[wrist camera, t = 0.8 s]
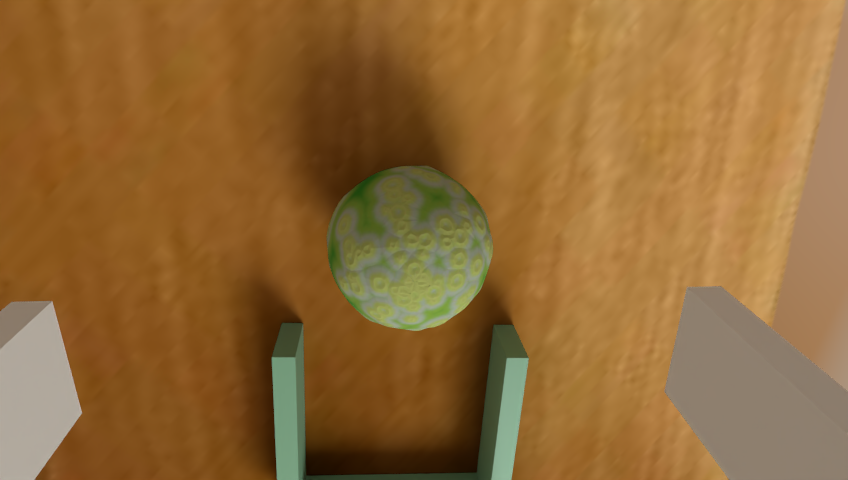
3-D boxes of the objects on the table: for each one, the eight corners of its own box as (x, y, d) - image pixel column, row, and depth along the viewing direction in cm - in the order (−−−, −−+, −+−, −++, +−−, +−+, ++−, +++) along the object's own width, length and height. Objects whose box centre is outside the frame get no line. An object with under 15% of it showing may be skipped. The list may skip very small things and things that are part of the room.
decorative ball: (378, 120, 37) (381, 155, 27) (504, 197, 39) (545, 252, 30) (305, 244, 39) (284, 314, 30) (427, 308, 42) (443, 391, 32)
